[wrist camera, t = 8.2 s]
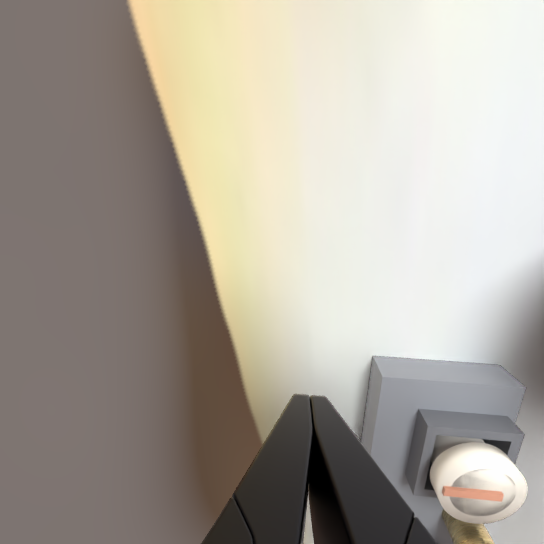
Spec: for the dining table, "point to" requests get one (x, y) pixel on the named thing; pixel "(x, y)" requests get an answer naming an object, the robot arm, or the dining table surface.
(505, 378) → the mount
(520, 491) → the white round cap
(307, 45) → the dining table surface
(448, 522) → the metal knob
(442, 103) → the dining table surface
